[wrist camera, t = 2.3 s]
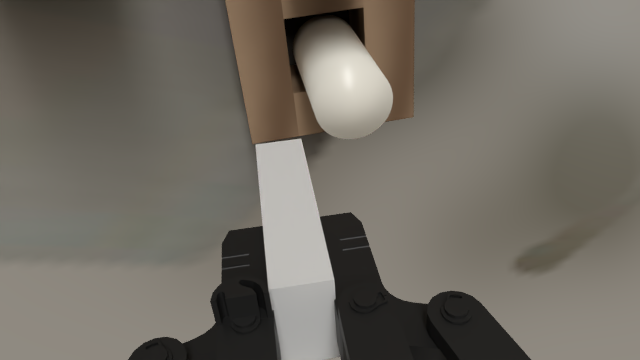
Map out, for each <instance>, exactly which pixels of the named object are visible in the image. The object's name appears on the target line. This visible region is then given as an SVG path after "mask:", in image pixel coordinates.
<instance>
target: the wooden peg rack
mask: <svg viewBox="0 0 640 360" xmlns="http://www.w3.org/2000/svg"><path fill="white" fill-rule="evenodd" d="M225 2H226V7H227V12H228V17H229V23H230V28H231V33H232V39H233V44H234V49H235V54H236V60H237V65H238V70H239V75H240V81H241V86H242V91H243V97H244V102H245V107H246V112H247V118H248V123H249V128H250V133H251V139H252V144H255V143H261V142H267V141H273V140H279V139H285V138H291V137H297V136H303V135H309V134H315V133H321V132H325V131H324V130H323V129H322V128H321V126H320V125H319V123H318V122H317V120H316V117H315V114H314V111H313V108H312V106H311V103H310V100H309V97H308V95H307V92H306V89H305V86H304V83H303V81H302V78H301V75H300V72H299V70H298V67H297V64H296V65H290V64H289V56H288V48H287V41H286V33H285V25H284V19H288V18H295V17H301V16H308V15H315V14H322V13H329V12H336V11H342V10H348V11H349V25H350V26H351V28H352V29H353V31H354V32H355V34H356V35H357V36H358V38H359V39H360V41H361V42H362V44H363V45H364V47H365V48H366V50H367V51H368V53H369V54H370V55H371V57H372V58H373V60H374V61H375V63H376V64H377V66H378V67H379V69H380V70H381V72H382V73H383V74H384V76H385V77H386V79H387V80H388V82H389V84H390V86H391V89H392V93H393V104H392V108H391V111H390V114H389V116H388V118H387V119H386V121H385V122H387V121H393V120H399V119H405V118H411V117H413V116H414V115H413V113H414V3H415V0H225Z"/></svg>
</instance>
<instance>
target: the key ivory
mask: <svg viewBox="0 0 640 360" xmlns="http://www.w3.org/2000/svg"><path fill="white" fill-rule="evenodd" d="M293 55H294V58H295V61H296V64H297V67H298V70H299V72H300V75H301V78H302V81H303V83H304V86H305V89H306V92H307V95H308V97H309V100H310V103H311V106H312V108H313V111H314V114H315V117H316V120H317V122H318V123H319V125H320V126H321V128H322V129H323V130H324V131H325V132H327V133H328V134H330V135H332V136H334V137H336V138H340V139H358V138H362V137H365V136H367V135H369V134H371V133H373V132H374V131H375V130H377V129H378V128H379V127H380V126H381V125H382V124H383V123H384V122H385V121H386V119H387V118H388V116H389V114H390V111H391V108H392V104H393V93H392V89H391V86H390V84H389V82H388V80H387V79H386V77H385V76H384V74H383V73H382V72H381V70H380V69H379V67H378V66H377V64H376V63H375V61H374V60H373V58H372V57H371V55H370V54H369V53H368V51H367V50H366V48H365V47H364V45H363V44H362V42H361V41H360V39H359V38H358V36H357V35H356V34H355V32H354V31H353V29H352V28H351V26H350V25H349V24H348V23H347V22H346V21H345V20H343V19H342V18H340V17H338V16H335V15H328V14H325V15H318V16H315V17H313V18H311V19H309V20H307V21H306V22H305V23H304V24H302V26H301V27H300V28H299V29H298V31H297V33H296V35H295V37H294V40H293Z"/></svg>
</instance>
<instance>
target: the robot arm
mask: <svg viewBox="0 0 640 360" xmlns="http://www.w3.org/2000/svg"><path fill="white" fill-rule="evenodd" d="M256 156H257V167H258V178H259V190H260V201H261V212H262V222H263V226H260V227H253V228H245V229H238V230H231V231H229V232H228V234H227V236H226V238H225V239H224V241H223V243H222V284H220V285H219V286H218V287H217V289H216V290H215V291H214V292H213V294H212V298H211V301H210V302H211V306H212V309H213V313H214V317H215V321H216V323H215V325H214V326H213V327H212V328H211V329H210V330H208V331H207V332H206V333H205V334H203V335H201V336H199V337H197V338H195V339H193V340H190V341H188V342H186V343H183V344H182V343H181V342H180V341H178V340H177V339H174V338H169V337H162V338H155V339H153V340H150V341H148V342H145V343H143V344H142V345H141V346H140V347H138V348H137V349H136V350H135V351H134V352H133V353H132V355H131V356H130V358H129V359H128V360H325V359H330V358H336V357H341V360H531V359H530V358H529V357H528V356H527V355H526V354H525V352H524V351H523V350H522V349H521V348H520V347H519V346H518V344H517V343H516V342H515V341H514V340H513V339H512V338H511V337H510V335H509V334H508V333H507V332H506V331H505V330H504V329H503V328H502V327H501V325H500V324H499V323H498V322H497V321H496V320H495V318H494V317H493V316H492V315H491V314H490V313H489V312H488V311H487V309H486V308H485V307H484V306H483V305H482V304H481V303H480V302H479V301H477V300H476V299H475V298H474V297H473V296H471V295H468V294H466V293H463V292H457V291H447V292H442V293H439V294H438V295H436V296H434V297H432V299H431V300H430V302H429V303H428V304H422V303H413V302H408V301H403V300H401V299H398V298H396V297H394V296H393V295H391V294H390V293H389V292H388V291H387V290H386V289H385V288H384V286H383V284H382V282H381V279H380V276H379V273H378V270H377V267H376V264H375V261H374V258H373V255H372V252H371V249H370V247H369V243H368V240H367V237H366V234H365V231H364V228H363V225H362V223H361V221H360V220H358V219H357V218H356V217H355V216H354V215H353V214H352V213H351V212H350V213H343V214H336V215H329V216H322V217H320V216H319V212H318V208H317V204H316V199H315V195H314V191H313V187H312V182H311V178H310V174H309V170H308V165H307V161H306V157H305V152H304V148H303V144H302V140H301V139H295V140H287V141H279V142H271V143H264V144H256Z"/></svg>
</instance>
